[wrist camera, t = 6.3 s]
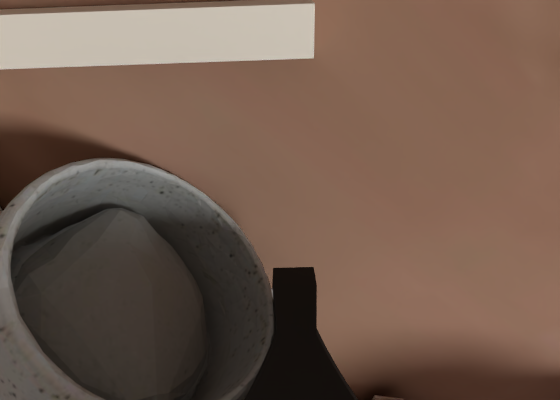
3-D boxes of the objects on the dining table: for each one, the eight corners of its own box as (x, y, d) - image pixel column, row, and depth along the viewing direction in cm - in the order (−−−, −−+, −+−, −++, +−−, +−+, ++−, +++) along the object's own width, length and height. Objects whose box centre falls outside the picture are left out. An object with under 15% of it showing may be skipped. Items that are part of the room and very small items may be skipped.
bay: (309, -2, 10) (314, 3, 8) (305, 360, 18) (308, 390, 17) (-148, 14, 10) (-210, 22, 9) (62, 367, 19) (46, 397, 17)
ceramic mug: (1, 265, 15) (-206, 507, 8) (95, 115, 11) (-130, 325, 5) (219, 364, 19) (193, 577, 12) (335, 274, 15) (382, 503, 9)
